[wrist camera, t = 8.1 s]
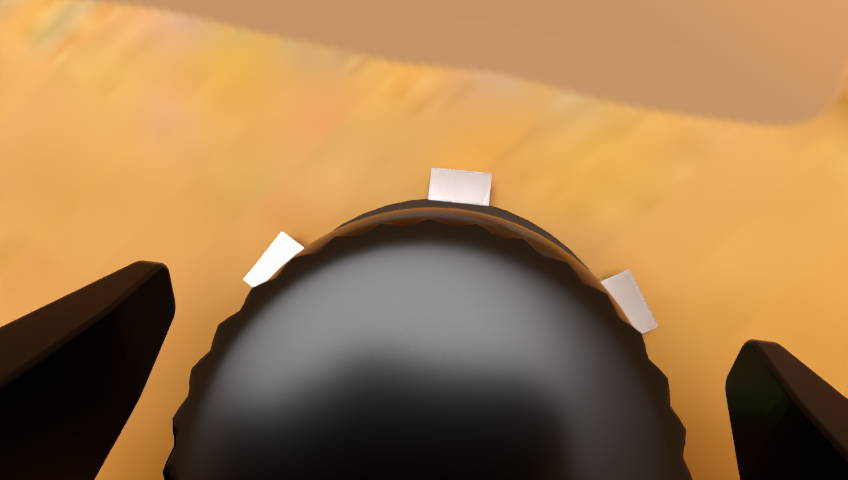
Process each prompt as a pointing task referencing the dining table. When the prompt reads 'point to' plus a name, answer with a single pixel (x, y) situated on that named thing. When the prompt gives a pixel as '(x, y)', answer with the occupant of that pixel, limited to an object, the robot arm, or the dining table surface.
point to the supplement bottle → (428, 365)
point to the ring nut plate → (473, 196)
